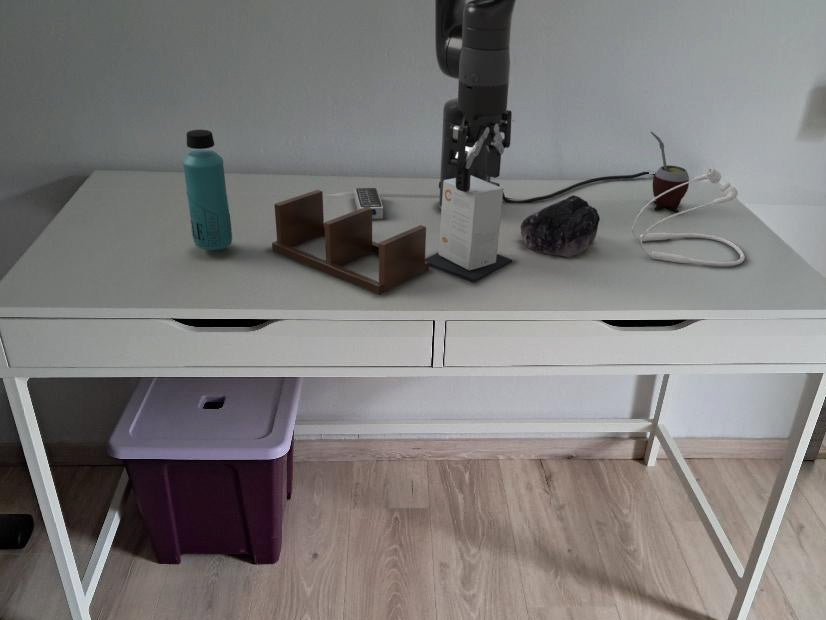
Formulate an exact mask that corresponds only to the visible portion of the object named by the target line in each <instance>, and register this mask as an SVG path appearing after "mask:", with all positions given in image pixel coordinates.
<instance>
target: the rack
mask: <svg viewBox="0 0 826 620" xmlns="http://www.w3.org/2000/svg"><path fill="white" fill-rule="evenodd" d="M323 193H324V192H323V190H321V189H320V190H319V189H315V190H312V191H310V192H306V193H303V194H300V195H298V196H295V197H291V198H288V199H285V200H282V201H279V202H276V203H274V217H275V231H276V240H275V241H273V242H271V251H272V252H275V253H277V254H279V255H281V256H284V257H287V258H289V259H292V260H294V261H296V262H299V263H301V264H304V265H306V266H309V267H310V268H314V269H316V270H318V271H321V272H322V273H325V274H327V275H330V276H332V277H335V278H337V279H340V280H342V281H345V282H347V283H350V284H351V285H355V286H357V287H359V288H362V289H364V290H366V291H369V292H371V293H373V294H376V295H378V296H380V295H382V294H384V293H386V292H388V291H390V290H392V289H395V288H396V287H398V286H400V285H402V284H404V283H406V282H408V281H410V280H412V279H415V278H417V277H418V276H421V275H422V274H425V273H426V272H428V271H430V266H429V262H427V261H425V259H426V245H427V226H425V225H422V224H420V225H417V226H415V227H413V228H411V229H408V230H406V231H403V232H401V233H398V234H395V235H394V236H391V237H388V238H386V239H383V240H382V241H380V242H376V241H373V219H372V208H370V207H365V208H362V209H359V210H357V209H356V210H354V211H352V212H349V213H346V214H343V215H341V216H338V217H335V218H332V219H330V220H327V221H324V220H325V218H324V195H323ZM321 236H324V249H325V250H324V251H325V259H323V258H321V257H318V256H315V255H314V254H311V253H309V252H306V251H303V250H301V249H298V248H296V247H295V246H298V245H301V244H303V243H306V242H308V241H311V240H314V239H316V238H319V237H321ZM371 254H376V255H378V280H376V279H373V278H371V277H368V276H365V275H363V274H361V273H358V272H355V271H353V270H350V269H348V268H346V267H343V266H345V265H347V264H349V263H352V262H355V261H357V260H360V259H362V258H364V257H366V256H368V255H371Z"/></svg>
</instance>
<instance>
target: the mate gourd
mask: <svg viewBox="0 0 826 620" xmlns="http://www.w3.org/2000/svg"><path fill="white" fill-rule="evenodd" d="M650 134H651V135H652V136H653V137H654V138H655V139H656V141H657V142H658V144H659V145H658V146H659V149H660V152H661V158H662V159H661V160H662V163H663V165H662V166H660V167H659V168H658V169H657V170H656V171H655V176H654V175H653V179H652V194H653V196H654V198H655V197H657V196H659V195H660V194H662V193H664V192H666V191H668V190H670V189H672V188H674V187H676V186H678V185H681V184H683V183H686V182H688V181H690V176H689V174H688V173H689V172H688V171H687V169H685V168H684V167H681V166H678V165H671V164H670V165H667V159H666V153H665V144H664V142H663V141H662V139H661V138H660V137H659V136H658V135H657V134H656V133H654V131H652V130H651V131H650ZM689 186H690V183H688V184H685V185H683V186H680V187H678V188H676V189H674V190H671V191H669V192H667V193H665V194H664V195H662V196H660V197H658V198H657V199H655V200H654V201H653V205H655V207H653V210H654V211H656V212H658V211H662V210H668V211H670V212H673V213H674V214H677V213H679V212H680V211H679V209H678V208H679V206H680V204H681V203H682V200H683V198H684V197H685V196H686V194H687V192H688V190H689Z"/></svg>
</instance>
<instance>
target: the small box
mask: <svg viewBox="0 0 826 620" xmlns="http://www.w3.org/2000/svg"><path fill="white" fill-rule="evenodd" d="M503 192H504V187H501V186H496V185H494V184H491V183H489V182H486V181H484V180H481V179H479V178H476V177H474V176H472V175H471V177H470V190H469V191H467V192H463V191H460V190H457V189H456V178H453V179H448V180H444V181H443V195H442V209H441V210H440V211H441V212H440V225H439V226H440V227H439V236H438V237H439V238H438V251H437V253H438V255H440V256H442V257H444V258H446V259H448V260H450V261H452V262H454V263H455V264H457V265H459V266H461V267H463V268H465V269H467V270H473V269H476V268H480V267H483V266H487V265H490V264H493V263H496V256H497V254H498V246H499V245H498V244H499V236H500V227H501V226H500V225H501V217H502V207H503V199H502V198H503Z"/></svg>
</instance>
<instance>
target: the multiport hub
mask: <svg viewBox="0 0 826 620" xmlns="http://www.w3.org/2000/svg"><path fill="white" fill-rule="evenodd" d="M354 202H355V205H356V210H359V209H362V208H365V207H370V208H372V220H383V219H384V206H383V202H382V199H381V197H380V193H379V190H378V188H377V187H359V188H358V187H356V188H355V189H354Z"/></svg>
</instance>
